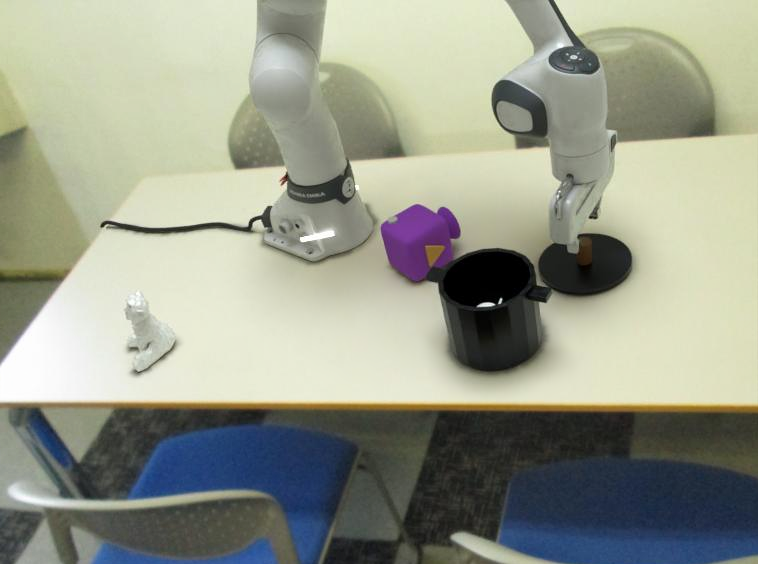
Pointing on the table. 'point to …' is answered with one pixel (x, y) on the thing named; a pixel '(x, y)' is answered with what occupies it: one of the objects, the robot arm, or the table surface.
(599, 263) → the pot lid
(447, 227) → the toy camera
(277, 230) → the robot arm
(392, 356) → the table surface
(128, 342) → the sitting furry creature
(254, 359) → the table surface
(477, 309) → the pot
